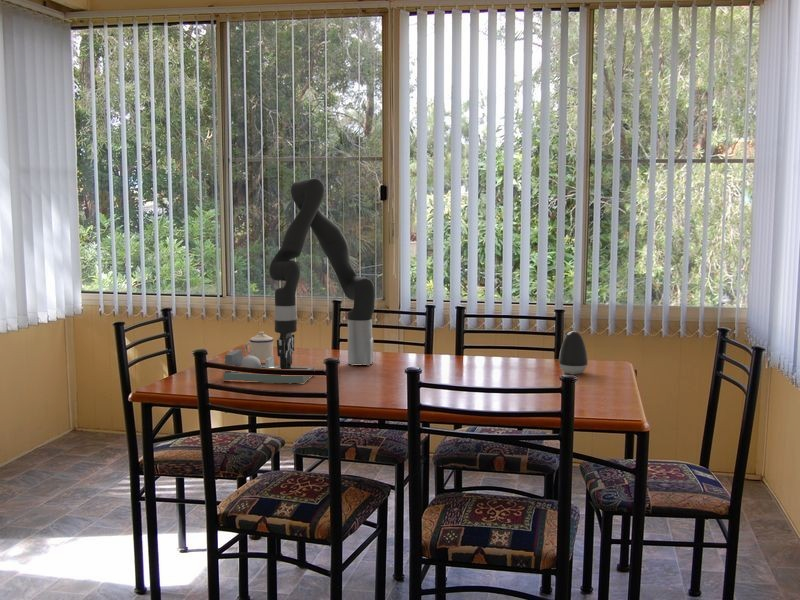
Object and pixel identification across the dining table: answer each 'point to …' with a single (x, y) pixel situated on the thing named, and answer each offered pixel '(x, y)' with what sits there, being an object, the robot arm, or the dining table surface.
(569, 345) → the grey egg shaped speaker
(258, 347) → the teacup with lid
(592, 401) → the dining table surface
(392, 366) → the dining table surface
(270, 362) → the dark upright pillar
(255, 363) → the bath bomb
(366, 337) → the robot arm
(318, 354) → the dining table surface
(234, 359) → the press frame
